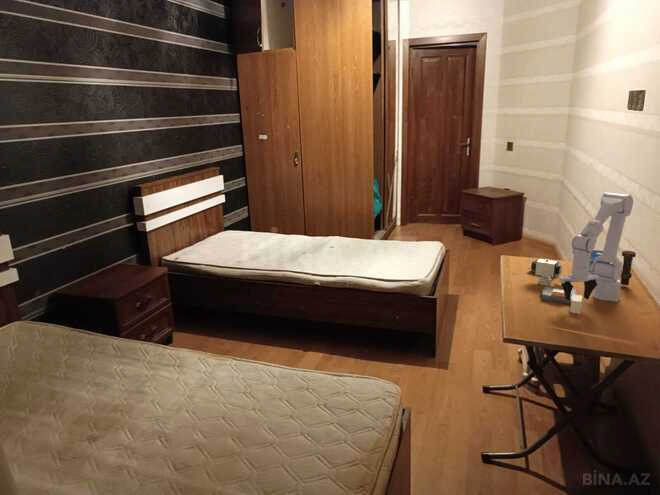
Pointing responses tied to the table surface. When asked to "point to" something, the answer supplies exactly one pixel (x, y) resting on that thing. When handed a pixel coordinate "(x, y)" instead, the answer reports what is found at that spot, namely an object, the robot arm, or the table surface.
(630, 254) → the bolt
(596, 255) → the label tape cartridge
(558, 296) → the motor housing
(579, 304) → the block
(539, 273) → the pneumatic valve
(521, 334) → the table surface
